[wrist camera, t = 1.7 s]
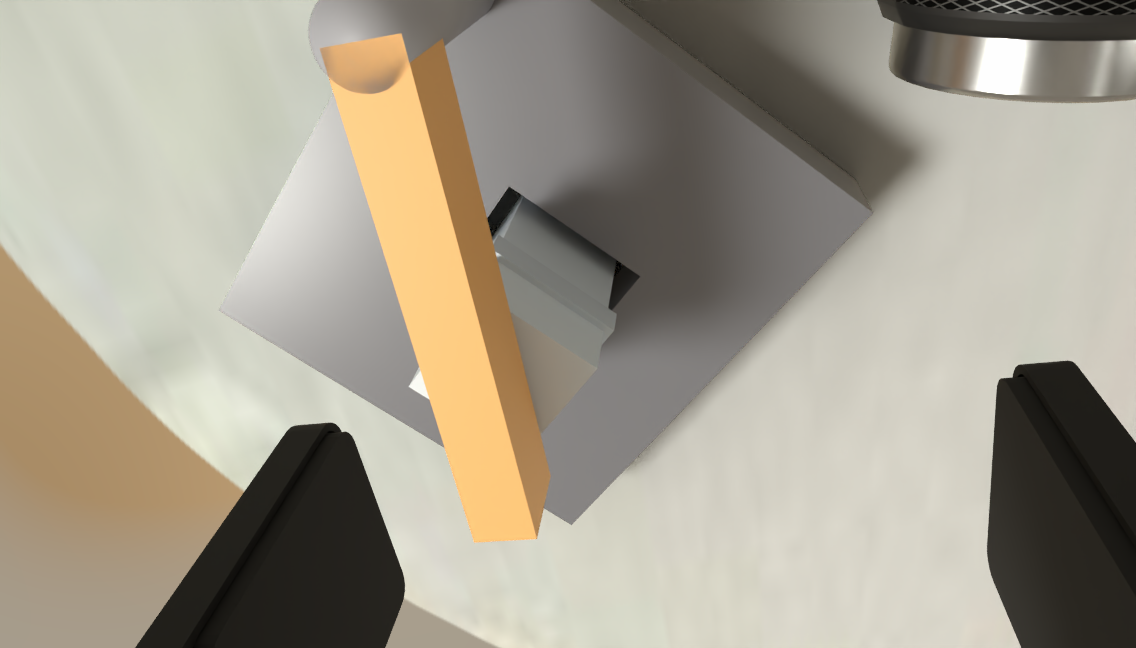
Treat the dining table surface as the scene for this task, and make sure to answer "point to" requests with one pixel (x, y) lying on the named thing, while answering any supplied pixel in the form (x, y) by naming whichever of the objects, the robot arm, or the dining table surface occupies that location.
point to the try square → (438, 244)
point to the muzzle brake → (1017, 48)
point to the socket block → (571, 225)
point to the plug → (552, 304)
